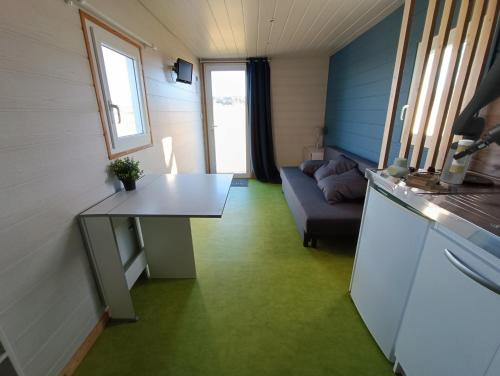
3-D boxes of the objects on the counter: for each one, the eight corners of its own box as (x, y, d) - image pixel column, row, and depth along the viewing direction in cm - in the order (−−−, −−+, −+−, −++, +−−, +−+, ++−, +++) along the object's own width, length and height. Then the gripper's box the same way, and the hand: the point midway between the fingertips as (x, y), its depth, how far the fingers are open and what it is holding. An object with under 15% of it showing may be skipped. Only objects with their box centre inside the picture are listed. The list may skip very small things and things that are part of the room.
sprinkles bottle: (464, 173, 96) (476, 140, 91) (460, 174, 93) (472, 141, 89) (451, 170, 99) (461, 139, 95) (447, 171, 97) (457, 139, 92)
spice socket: (412, 181, 122) (415, 171, 120) (443, 187, 112) (446, 177, 111) (405, 185, 114) (407, 175, 112) (437, 193, 105) (440, 182, 103)
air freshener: (383, 173, 135) (387, 156, 131) (395, 173, 136) (399, 156, 133) (398, 179, 125) (402, 161, 121) (411, 178, 126) (416, 160, 123)
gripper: (500, 121, 89) (450, 148, 101) (502, 123, 79) (446, 152, 92) (514, 136, 88) (461, 162, 100) (518, 140, 78) (459, 168, 90)
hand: (454, 157), depth 96 cm, fingers closed on sprinkles bottle, 4 cm apart
